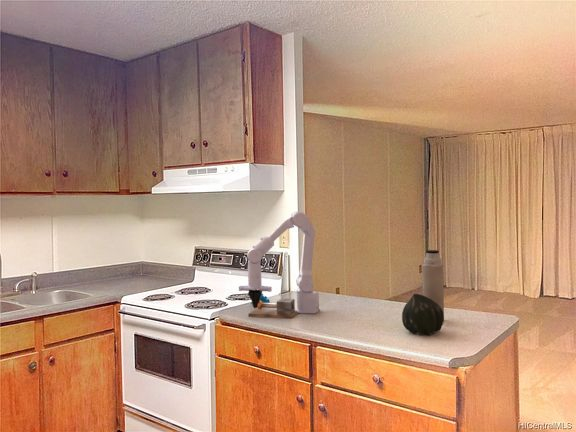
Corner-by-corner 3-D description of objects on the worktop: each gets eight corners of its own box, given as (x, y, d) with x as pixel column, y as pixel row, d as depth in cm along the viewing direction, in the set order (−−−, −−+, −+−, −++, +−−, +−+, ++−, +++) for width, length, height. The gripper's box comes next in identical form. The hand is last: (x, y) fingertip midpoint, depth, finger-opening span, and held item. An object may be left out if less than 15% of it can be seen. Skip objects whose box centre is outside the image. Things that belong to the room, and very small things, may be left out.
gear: (274, 302, 221) (260, 289, 218) (267, 312, 219) (253, 299, 215) (261, 301, 230) (248, 289, 227) (255, 311, 228) (241, 299, 224)
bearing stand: (297, 313, 205) (297, 298, 205) (292, 318, 197) (291, 302, 197) (255, 311, 211) (255, 297, 211) (248, 316, 202) (247, 301, 202)
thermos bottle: (425, 317, 194) (424, 249, 192) (446, 319, 189) (445, 249, 188) (420, 321, 187) (419, 251, 186) (441, 323, 183) (440, 251, 182)
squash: (457, 317, 171) (430, 284, 177) (440, 328, 160) (411, 292, 165) (430, 337, 178) (405, 305, 184) (412, 349, 167) (386, 314, 173)
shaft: (289, 309, 204) (288, 301, 204) (286, 311, 200) (286, 302, 200) (260, 308, 207) (260, 300, 207) (257, 310, 204) (257, 301, 204)
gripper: (235, 277, 204) (236, 308, 204) (267, 278, 200) (268, 310, 200) (241, 275, 210) (242, 305, 211) (272, 275, 206) (273, 306, 207)
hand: (255, 307), depth 206 cm, fingers closed
